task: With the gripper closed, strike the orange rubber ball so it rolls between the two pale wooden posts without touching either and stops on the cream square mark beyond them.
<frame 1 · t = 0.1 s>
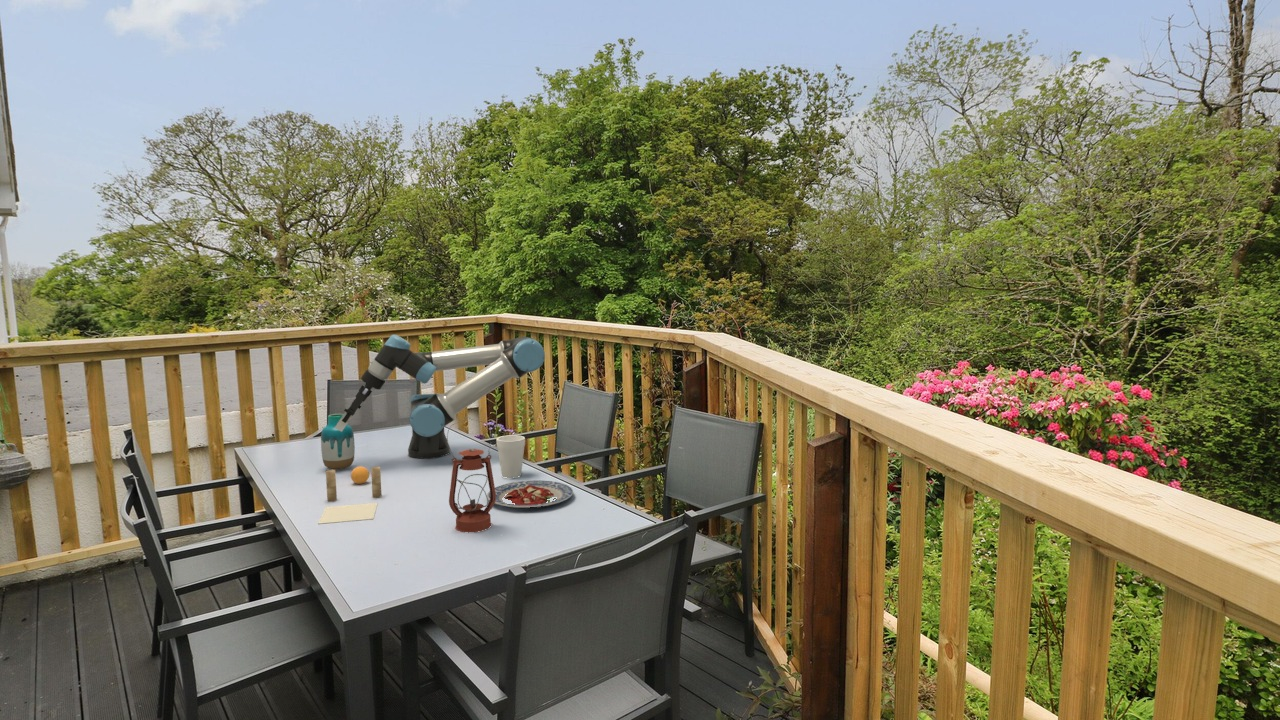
hand: (340, 425, 236), 15 cm above the table, tool tilted 35°, fingers open, 13 cm apart
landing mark: (349, 513, 192), on the table
vase: (339, 469, 238), on the table
foam cup: (511, 476, 230), on the table
ball: (360, 475, 221), on the table
left post: (332, 500, 204), on the table
right post: (376, 496, 207), on the table
lantern: (472, 526, 183), on the table
ceramic plate: (530, 500, 206), on the table
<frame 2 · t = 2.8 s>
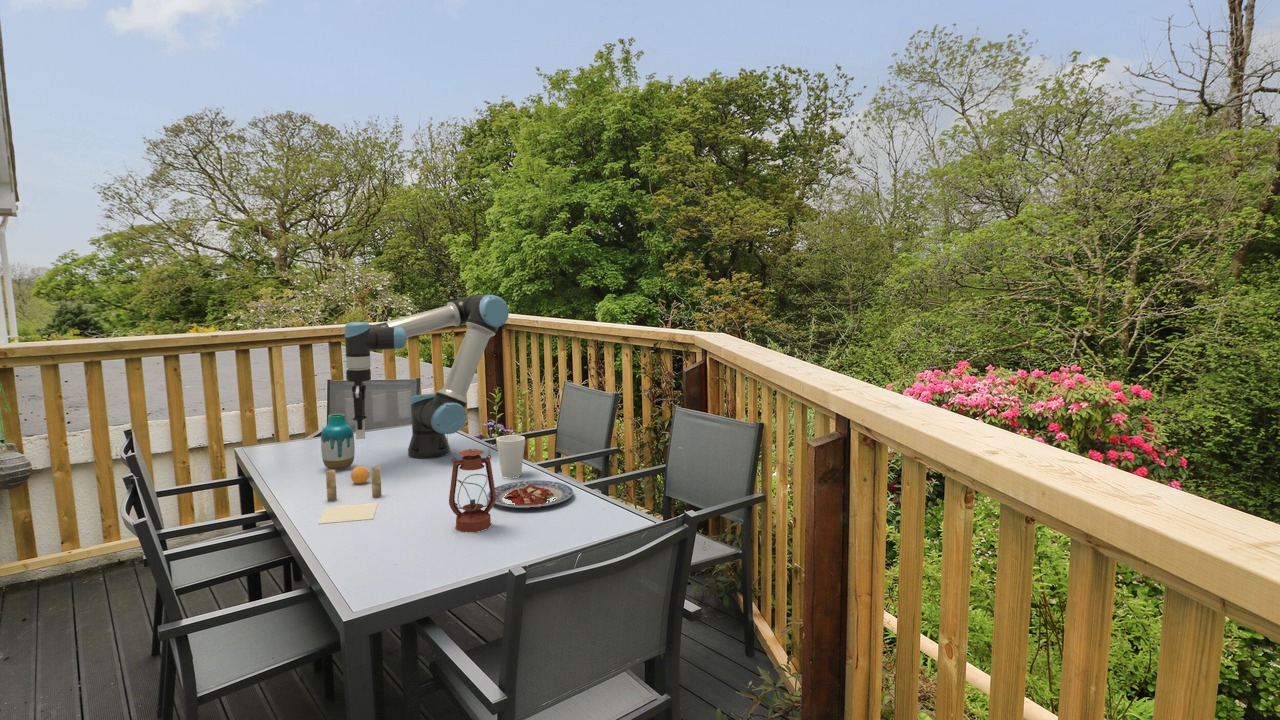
hand: (360, 438, 228), 13 cm above the table, tool pointing down, fingers closed
nothing on the table moved.
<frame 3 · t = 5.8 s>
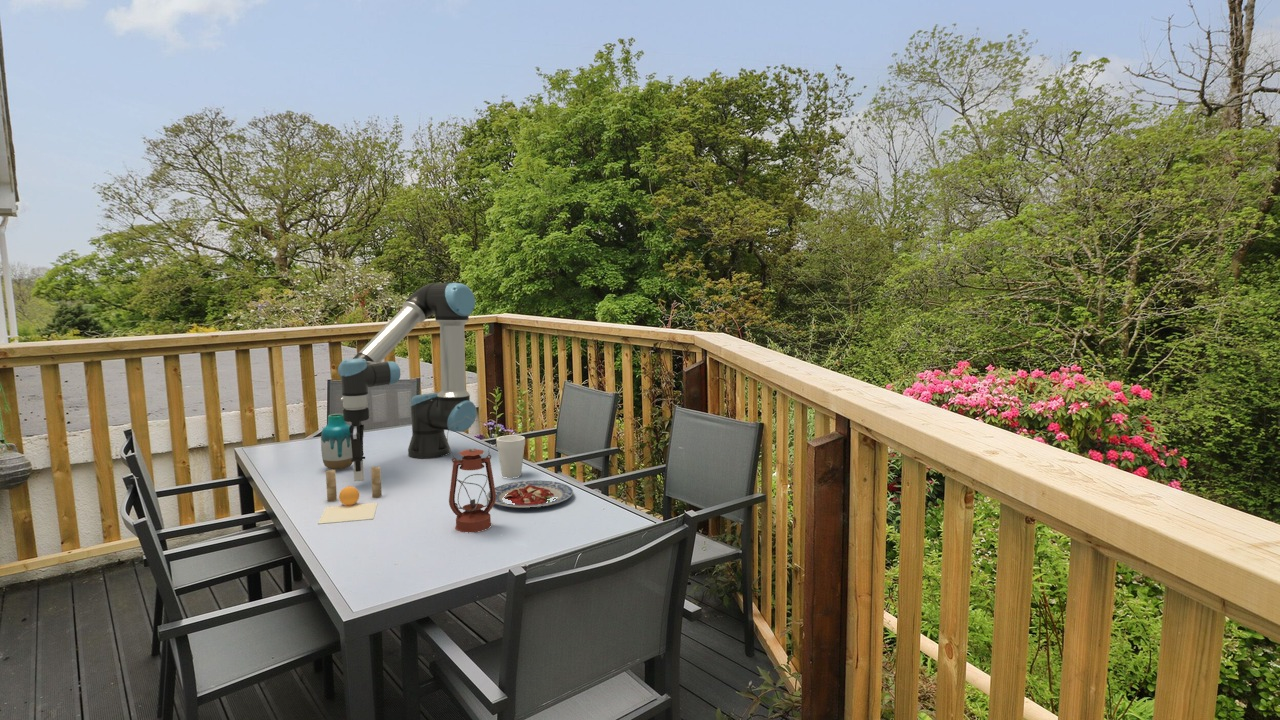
hand: (359, 480, 218), 2 cm above the table, tool pointing down, fingers closed
ball: (349, 495, 199), on the table
everything else where it was.
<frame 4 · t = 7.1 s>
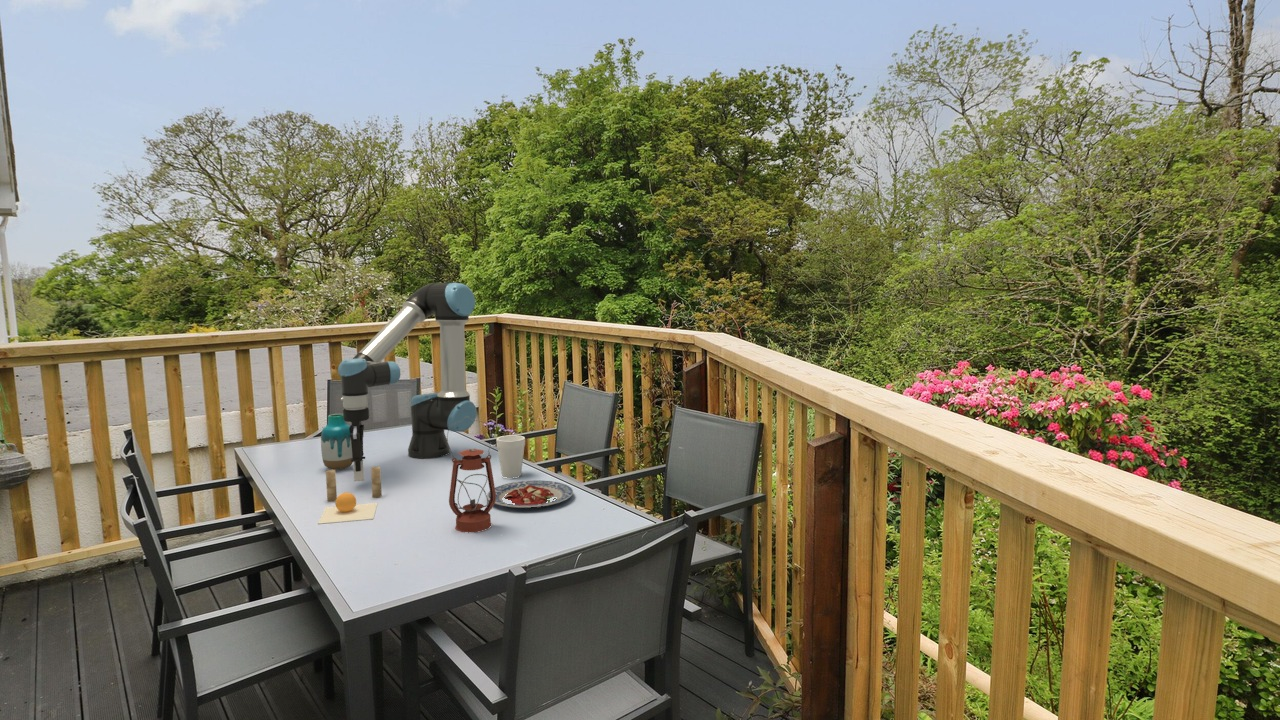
hand: (359, 480, 218), 2 cm above the table, tool pointing down, fingers closed
ball: (345, 502, 193), on the table
everything else where it was.
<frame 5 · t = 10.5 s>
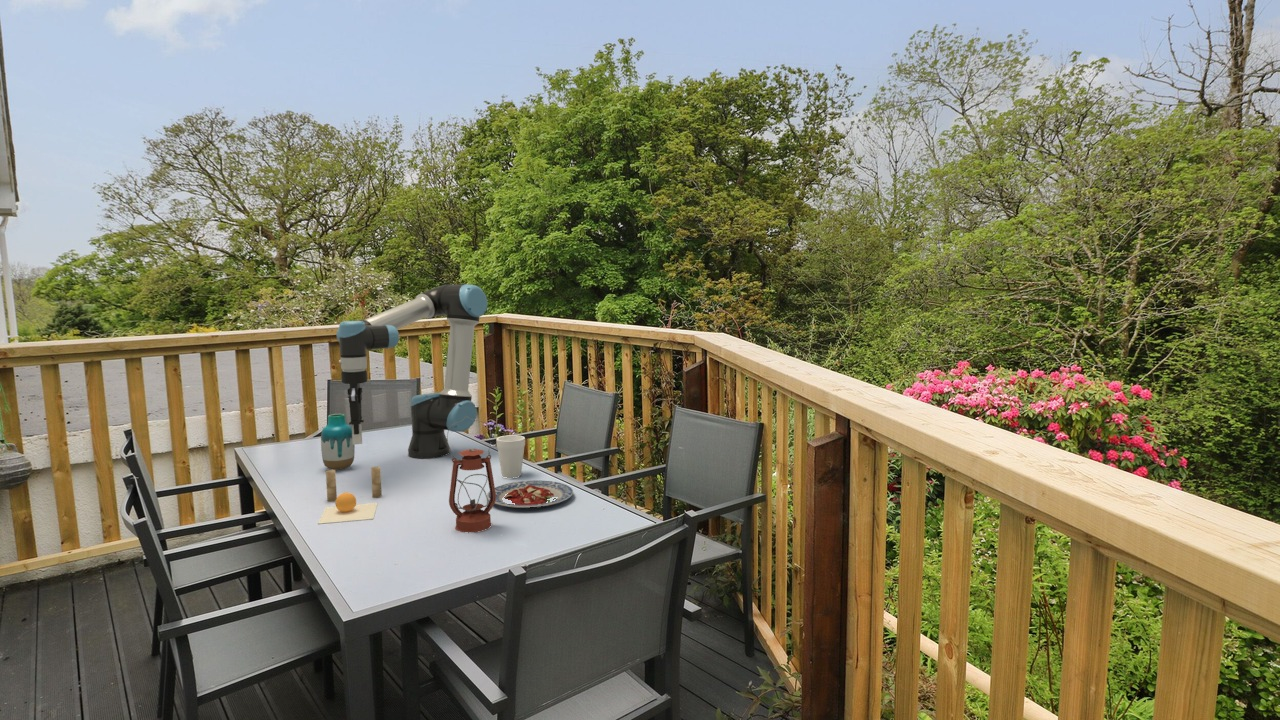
hand: (357, 443, 216), 14 cm above the table, tool pointing down, fingers closed
nothing on the table moved.
at the end: ball 1.9 cm from the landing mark (horizontally); ball never touched left post; ball never touched right post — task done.
